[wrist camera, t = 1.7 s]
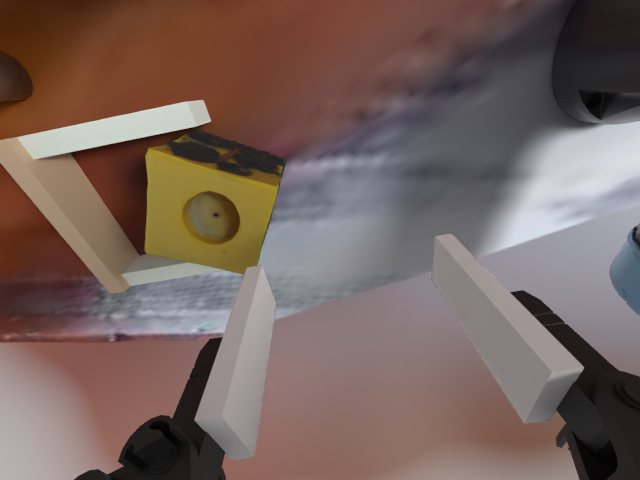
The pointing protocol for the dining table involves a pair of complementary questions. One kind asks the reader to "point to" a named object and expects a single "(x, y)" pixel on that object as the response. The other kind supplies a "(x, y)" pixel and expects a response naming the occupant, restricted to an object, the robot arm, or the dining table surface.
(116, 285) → the bay
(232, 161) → the candle
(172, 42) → the dining table surface
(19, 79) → the mushroom drawer knob
